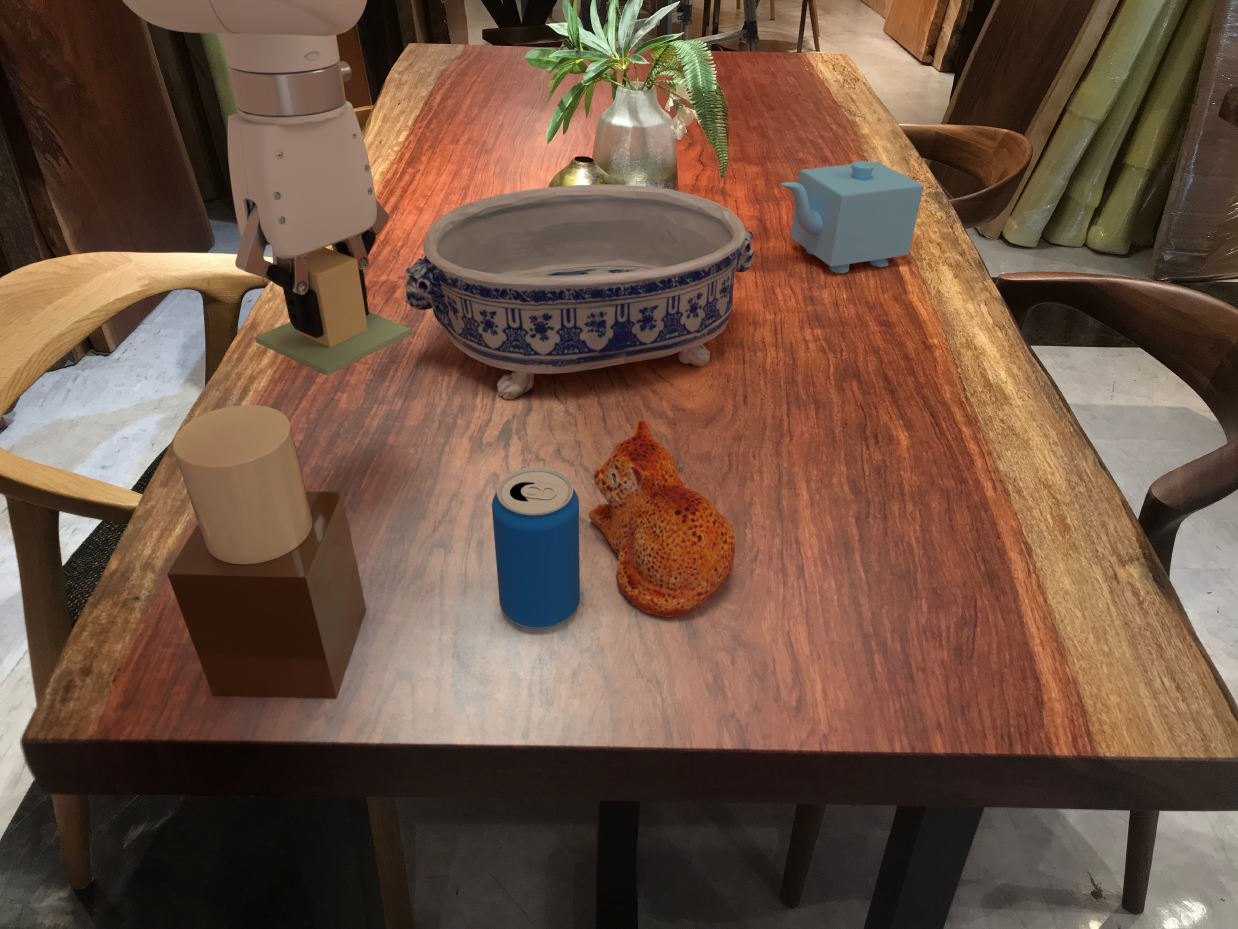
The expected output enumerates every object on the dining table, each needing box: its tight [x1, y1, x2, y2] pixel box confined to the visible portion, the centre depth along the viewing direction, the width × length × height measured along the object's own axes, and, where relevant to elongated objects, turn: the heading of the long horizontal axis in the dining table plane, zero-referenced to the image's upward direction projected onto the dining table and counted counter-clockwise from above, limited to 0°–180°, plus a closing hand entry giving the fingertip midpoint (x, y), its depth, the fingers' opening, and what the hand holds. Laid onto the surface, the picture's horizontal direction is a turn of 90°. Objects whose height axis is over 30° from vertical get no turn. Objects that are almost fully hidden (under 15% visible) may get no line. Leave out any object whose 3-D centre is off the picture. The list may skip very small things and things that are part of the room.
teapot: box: [780, 160, 925, 274], centre depth 127 cm, size 22×11×14 cm, turn 111°
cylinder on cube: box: [166, 404, 367, 699], centre depth 62 cm, size 9×9×20 cm
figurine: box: [588, 420, 736, 618], centre depth 75 cm, size 15×11×10 cm
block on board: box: [254, 247, 412, 377], centre depth 73 cm, size 9×9×7 cm
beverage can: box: [491, 466, 581, 629], centre depth 69 cm, size 6×6×12 cm
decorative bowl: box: [404, 184, 755, 400], centre depth 105 cm, size 42×27×15 cm, turn 110°
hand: (331, 320), depth 74 cm, fingers closed on block on board, 4 cm apart
